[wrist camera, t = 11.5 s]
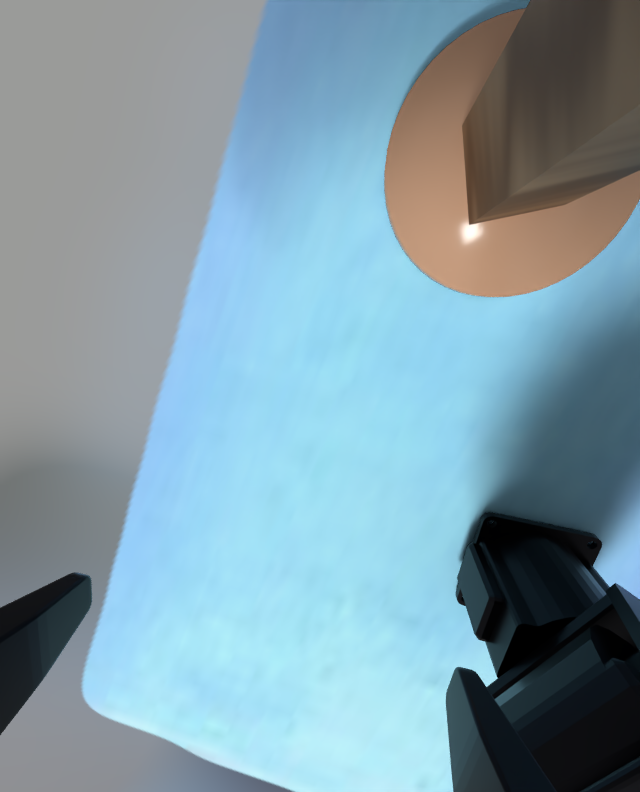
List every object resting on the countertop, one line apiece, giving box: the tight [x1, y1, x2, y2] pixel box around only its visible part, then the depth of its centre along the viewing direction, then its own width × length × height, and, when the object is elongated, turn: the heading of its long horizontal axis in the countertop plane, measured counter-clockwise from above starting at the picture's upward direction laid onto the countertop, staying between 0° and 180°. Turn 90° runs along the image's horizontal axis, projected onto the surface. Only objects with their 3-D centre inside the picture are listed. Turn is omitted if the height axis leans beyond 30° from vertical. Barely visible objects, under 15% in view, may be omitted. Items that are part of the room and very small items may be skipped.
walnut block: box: [462, 0, 640, 225], centre depth 10 cm, size 4×4×11 cm
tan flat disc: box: [384, 8, 640, 297], centre depth 16 cm, size 11×11×1 cm
